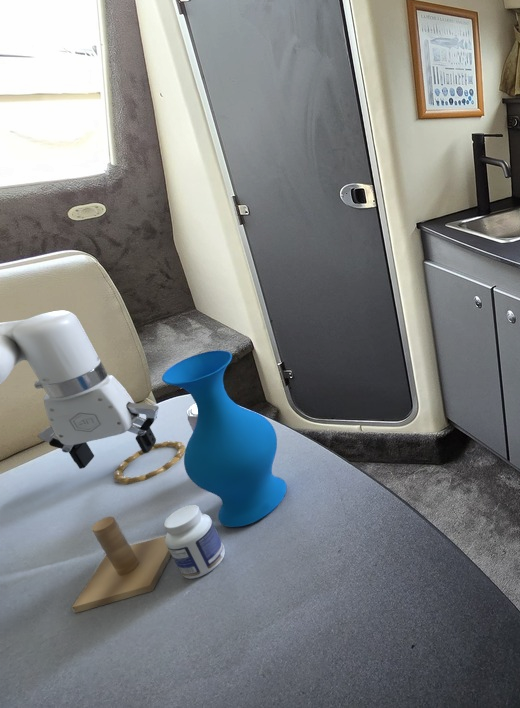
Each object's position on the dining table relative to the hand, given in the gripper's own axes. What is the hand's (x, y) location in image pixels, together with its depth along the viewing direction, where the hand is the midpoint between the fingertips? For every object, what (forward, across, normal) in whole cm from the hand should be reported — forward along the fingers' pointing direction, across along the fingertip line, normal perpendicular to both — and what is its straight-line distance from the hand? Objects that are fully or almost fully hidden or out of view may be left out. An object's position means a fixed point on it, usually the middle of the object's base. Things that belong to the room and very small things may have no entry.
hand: (119, 455), depth 92 cm
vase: (+4, +26, -18) cm, 32 cm away
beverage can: (+4, +20, -8) cm, 22 cm away
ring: (+3, +4, 0) cm, 5 cm away
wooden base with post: (+4, +12, -26) cm, 29 cm away
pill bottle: (+4, +22, -28) cm, 36 cm away
